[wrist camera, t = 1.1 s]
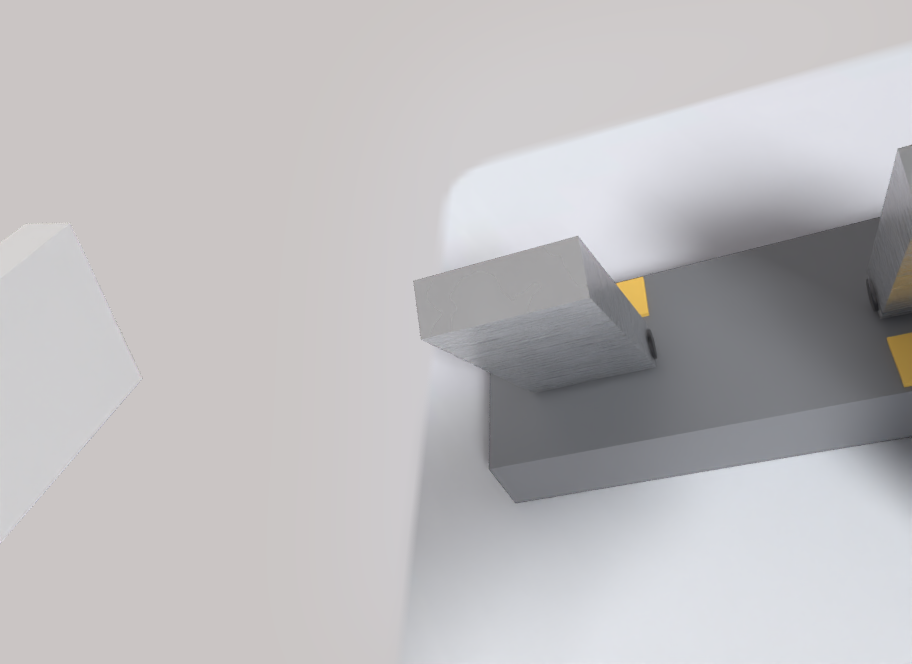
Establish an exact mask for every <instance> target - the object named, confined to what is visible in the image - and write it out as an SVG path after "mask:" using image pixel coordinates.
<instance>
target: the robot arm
mask: <svg viewBox="0 0 912 664" xmlns="http://www.w3.org/2000/svg"><path fill="white" fill-rule="evenodd" d="M141 380H142V376H141V374H140V372H139V369H138V367H137V365H136V363H135V361H134V359H133V356H132V354H131V352H130V350H129V348H128V346H127V344H126V341H125V339H124V337H123V335H122V333H121V331H120V328H119V326H118V324H117V322H116V320H115V318H114V316H113V313H112V311H111V310H110V307H109V305H108V303H107V300H106V298H105V296H104V294H103V292H102V290H101V288H100V285H99V283H98V281H97V279H96V277H95V275H94V273H93V270H92V269H91V266H90V264H89V262H88V260H87V257H86V255H85V253H84V251H83V249H82V247H81V245H80V242H79V240H78V238H77V236H76V234H75V232H74V230H73V228H72V225H71V223H31V224H25V225H23V226H22V227H21V228H19V229H18V230H16V231H15V232H14V233H13V234H11V235H10V236H8V237H7V238H6V239H4V240H3V241H2V242H1V243H0V543H1V542H2V541H3V540H4V539H5V538H6V536H7V535H8V534H9V533H10V532H11V531H12V529H13V528H14V527H15V526H16V525H17V524H18V523H19V521H20V520H21V519H22V518H23V517H24V516H25V514H26V513H27V512H28V511H29V509H31V507H32V506H33V505H34V504H35V503H36V502H37V500H38V499H39V498H40V497H41V496H42V495H43V494H44V492H45V491H46V490H47V489H48V488H49V487H50V485H51V484H52V483H53V482H54V480H56V478H57V477H58V476H59V475H60V474H61V473H62V471H63V470H64V469H65V468H66V467H67V466H68V465H69V463H70V462H71V461H72V460H73V459H74V458H75V456H76V455H77V454H78V453H79V452H80V451H81V449H82V448H83V447H84V446H85V445H86V444H87V442H88V441H89V440H90V439H91V438H92V437H93V435H94V434H95V433H96V432H97V431H98V430H99V428H100V427H101V426H102V425H103V424H104V423H105V421H106V420H107V419H108V418H109V417H110V416H111V414H112V413H113V412H114V411H115V410H116V409H117V408H118V406H119V405H120V404H121V403H122V402H123V401H124V400H125V398H126V397H127V396H128V395H129V394H130V393H131V391H132V390H133V389H134V388H135V387H136V385H137V384H138V383H139V382H140V381H141Z"/></svg>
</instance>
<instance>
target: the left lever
mask: <svg viewBox="0 0 912 664" xmlns="http://www.w3.org/2000/svg"><path fill="white" fill-rule="evenodd" d="M413 282H414V289H415V296H416V305H417V312H418V320H419V328H420V336H421V340H423V341H425V342H427V343H429V344H431V345H433V346H436V347H438V348H440V349H442V350H444V351H446V352H448V353H450V354H452V355H454V356H456V357H459V358H461V359H463V360H465V361H467V362H469V363H471V364H473V365H475V366H477V367H479V368H482V369H484V370H486V371H488V372H490V373H492V374H494V375H496V376H498V377H500V378H502V379H505V380H507V381H509V382H511V383H513V384H515V385H517V386H519V387H521V388H523V389H526V390H528V391H530V392H532V393H536V392H541V391H546V390H550V389H555V388H560V387H564V386H569V385H574V384H579V383H583V382H588V381H593V380H597V379H602V378H607V377H611V376H616V375H621V374H626V373H630V372H635V371H640V370H644V369H649V368H654V367H656V366H655V361H654V359H657V351H656V346H655V341H654V338H653V335H652V332H651V330H650V329H648V328H647V323H646V322H645V320H644V319H643V318H642V316H641V315H640V314H639V313H638V311H637V310H636V309H635V308H634V306H633V305H632V304H631V303H630V301H629V300H628V299H627V297H626V296H625V295H624V294H623V292H622V291H621V290H620V289H619V287H618V286H617V285H616V283H615V282H614V281H613V280H612V278H611V277H610V276H609V275H608V273H607V272H606V271H605V270H604V268H603V267H602V266H601V264H600V263H599V262H598V261H597V259H596V258H595V257H594V256H593V254H592V253H591V252H590V250H589V249H588V248H587V247H586V245H585V244H584V243H583V242H582V240H581V239H580V238H579V236H576V237H572V238H569V239H565V240H561V241H558V242H554V243H550V244H547V245H543V246H539V247H536V248H532V249H528V250H525V251H521V252H517V253H514V254H510V255H506V256H503V257H499V258H495V259H492V260H488V261H484V262H481V263H477V264H473V265H470V266H466V267H463V268H459V269H455V270H452V271H448V272H444V273H441V274H437V275H433V276H430V277H426V278H422V279H419V280H415V281H413Z"/></svg>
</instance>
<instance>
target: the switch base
mask: <svg viewBox="0 0 912 664" xmlns="http://www.w3.org/2000/svg"><path fill="white" fill-rule="evenodd" d="M879 221H880V217H878V218H874V219H870V220H866V221H862V222H858V223H854V224H850V225H846V226H842V227H838V228H834V229H830V230H826V231H822V232H818V233H814V234H810V235H806V236H802V237H798V238H794V239H790V240H786V241H782V242H778V243H774V244H770V245H766V246H762V247H758V248H754V249H750V250H746V251H742V252H738V253H734V254H730V255H726V256H722V257H718V258H714V259H710V260H706V261H702V262H698V263H694V264H690V265H686V266H682V267H678V268H674V269H670V270H666V271H662V272H658V273H654V274H650V275H646V276H642V277H638V278H634V279H630V280H626V281H622V282H618V283H616V285H617V286H618V287H619V289H620V290H621V291H622V292H623V294H624V295H625V296H626V297H627V299H628V300H629V301H630V303H631V304H632V305H633V306H634V308H635V309H636V310H637V311H638V313H639V314H640V315H641V316H642V318H643V319H644V320H645V322H646V323H647V328H648V329H650V330H651V332H652V335H653V338H654V341H655V346H656V351H657V359H654V361H655V366H656V367H654V368H649V369H644V370H640V371H635V372H630V373H626V374H621V375H616V376H611V377H607V378H602V379H597V380H593V381H588V382H583V383H579V384H574V385H569V386H564V387H560V388H555V389H550V390H546V391H541V392H536V393H532V392H530V391H528V390H526V389H523V388H521V387H519V386H517V385H515V384H513V383H511V382H509V381H507V380H505V379H502V378H500V377H498V376H496V375H494V374H492V373H490V435H489V470H490V471H491V472H492V473H493V475H494V476H495V477H496V479H497V480H498V481H499V482H500V484H501V485H502V486H503V488H504V489H505V490H506V491H507V493H508V494H509V495H510V497H511V498H512V499H513V500H514V502H515V503H519V502H525V501H531V500H537V499H543V498H548V497H554V496H560V495H566V494H572V493H578V492H584V491H590V490H596V489H602V488H608V487H614V486H620V485H626V484H632V483H638V482H644V481H650V480H656V479H662V478H668V477H674V476H680V475H686V474H691V473H697V472H703V471H709V470H715V469H721V468H727V467H733V466H739V465H745V464H751V463H757V462H763V461H769V460H775V459H781V458H787V457H793V456H799V455H805V454H811V453H817V452H823V451H828V450H834V449H840V448H846V447H852V446H858V445H864V444H870V443H876V442H882V441H888V440H894V439H900V438H906V437H912V313H908V314H903V315H898V316H894V317H889V318H884V319H880V316H879V313H878V311H876V312H874V310H873V308H872V306H871V303H870V300H869V296H868V292H867V286H866V279H869V278H868V275H867V269H868V265H869V261H870V257H871V253H872V249H873V245H874V241H875V237H876V233H877V229H878V225H879Z"/></svg>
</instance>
